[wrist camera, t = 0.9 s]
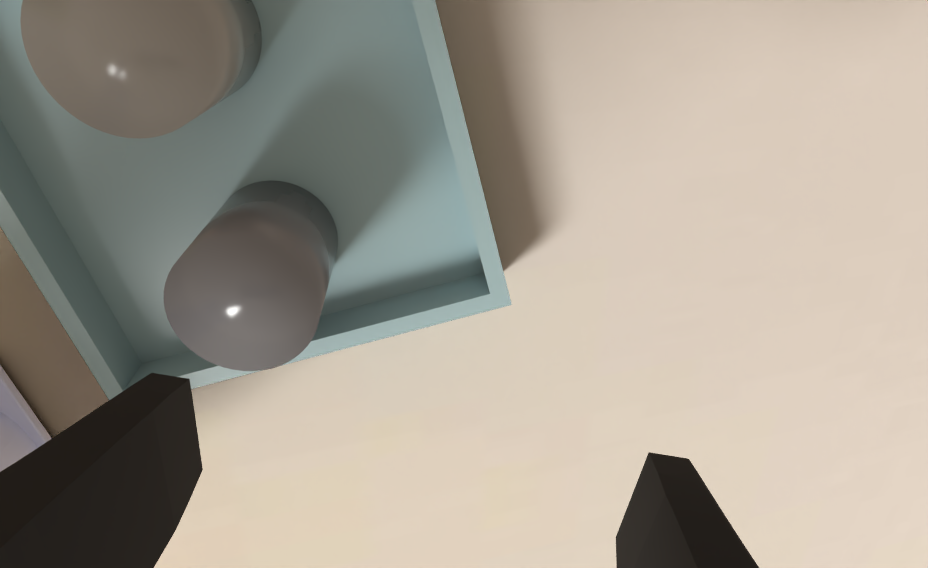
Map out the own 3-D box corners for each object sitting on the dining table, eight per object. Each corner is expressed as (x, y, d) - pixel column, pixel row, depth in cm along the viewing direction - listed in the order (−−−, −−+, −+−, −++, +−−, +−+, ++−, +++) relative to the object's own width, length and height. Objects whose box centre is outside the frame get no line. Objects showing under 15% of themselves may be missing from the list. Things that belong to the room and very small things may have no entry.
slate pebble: (157, 116, 19) (80, 158, 15) (90, -26, 17) (-19, -27, 13) (282, 81, 19) (243, 112, 15) (228, -66, 17) (165, -82, 13)
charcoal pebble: (244, 304, 22) (203, 386, 18) (195, 198, 20) (135, 260, 16) (354, 275, 22) (340, 350, 18) (314, 166, 20) (287, 219, 16)
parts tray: (142, 369, 24) (114, 409, 22) (-92, -34, 18) (-164, -36, 15) (501, 273, 23) (511, 304, 21) (388, -176, 17) (385, -199, 15)
